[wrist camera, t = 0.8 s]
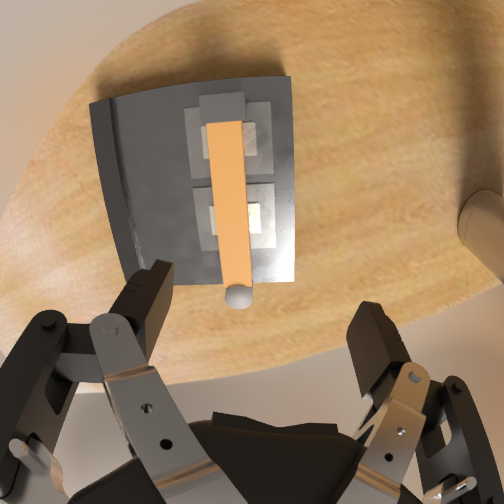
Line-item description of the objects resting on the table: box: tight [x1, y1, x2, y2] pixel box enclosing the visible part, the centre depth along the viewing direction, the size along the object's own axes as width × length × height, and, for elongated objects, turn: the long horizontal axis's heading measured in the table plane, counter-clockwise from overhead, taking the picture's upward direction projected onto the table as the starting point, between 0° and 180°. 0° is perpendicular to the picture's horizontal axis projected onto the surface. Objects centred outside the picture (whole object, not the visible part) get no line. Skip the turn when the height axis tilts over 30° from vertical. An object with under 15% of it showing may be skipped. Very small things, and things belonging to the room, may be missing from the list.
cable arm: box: [199, 92, 253, 309], centre depth 27 cm, size 4×21×3 cm, turn 3°
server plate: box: [89, 76, 295, 285], centre depth 30 cm, size 20×22×4 cm
